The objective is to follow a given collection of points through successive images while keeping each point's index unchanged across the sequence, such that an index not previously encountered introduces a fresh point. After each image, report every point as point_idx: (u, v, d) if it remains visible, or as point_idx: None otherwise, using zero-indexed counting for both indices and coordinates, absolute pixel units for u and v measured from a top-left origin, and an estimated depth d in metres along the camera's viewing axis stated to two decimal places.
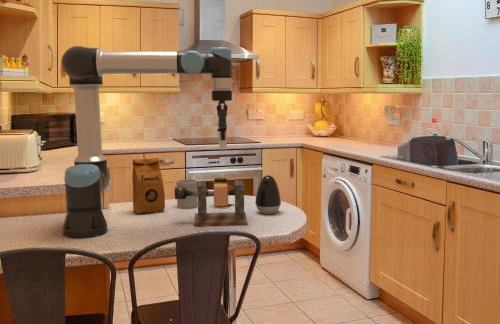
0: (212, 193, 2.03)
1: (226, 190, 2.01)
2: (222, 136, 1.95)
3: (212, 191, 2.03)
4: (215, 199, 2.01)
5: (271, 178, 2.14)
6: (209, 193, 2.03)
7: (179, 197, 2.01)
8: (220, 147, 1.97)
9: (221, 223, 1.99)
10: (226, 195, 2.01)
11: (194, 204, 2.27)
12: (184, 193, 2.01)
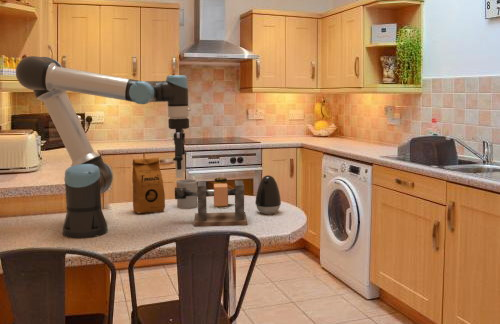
0: (212, 193, 2.03)
1: (226, 190, 2.01)
2: (178, 165, 1.93)
3: (212, 191, 2.03)
4: (215, 199, 2.01)
5: (271, 178, 2.14)
6: (209, 193, 2.03)
7: (179, 197, 2.01)
8: (177, 176, 1.95)
9: (221, 223, 1.99)
10: (226, 195, 2.01)
11: (194, 204, 2.27)
12: (184, 193, 2.01)
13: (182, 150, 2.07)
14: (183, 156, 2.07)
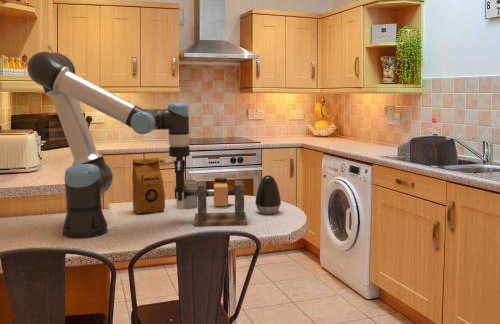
0: (212, 193, 2.03)
1: (226, 190, 2.01)
2: (179, 197, 1.99)
3: (212, 191, 2.03)
4: (215, 199, 2.01)
5: (271, 178, 2.14)
6: (209, 193, 2.03)
7: None
8: (177, 207, 2.01)
9: (221, 223, 1.99)
10: (226, 195, 2.01)
11: (194, 204, 2.27)
12: (184, 193, 2.01)
13: None
14: None
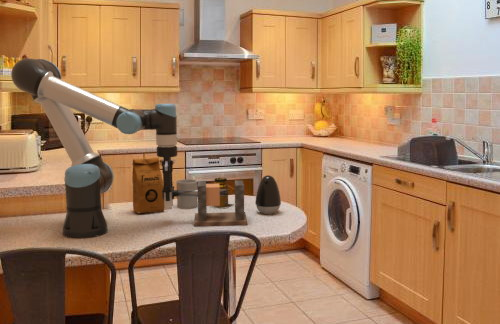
0: None
1: (218, 190, 2.00)
2: (167, 197, 1.99)
3: None
4: (207, 199, 2.01)
5: (271, 178, 2.14)
6: (197, 193, 2.02)
7: None
8: (165, 207, 2.00)
9: (221, 223, 1.99)
10: (218, 195, 2.01)
11: (194, 204, 2.27)
12: (172, 193, 2.01)
13: (170, 182, 2.05)
14: None
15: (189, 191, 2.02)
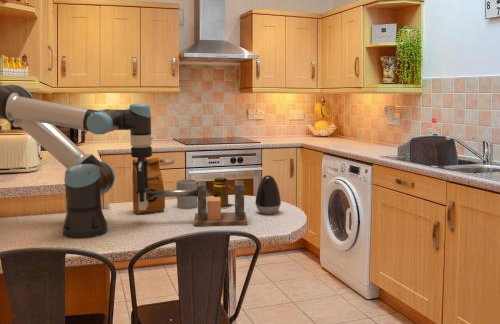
0: (175, 194, 2.02)
1: (219, 204, 2.01)
2: (141, 198, 1.98)
3: (175, 192, 2.02)
4: (208, 213, 2.01)
5: (271, 178, 2.14)
6: (172, 194, 2.02)
7: None
8: (139, 208, 2.00)
9: (221, 223, 1.99)
10: (219, 208, 2.01)
11: (194, 204, 2.27)
12: (147, 194, 2.00)
13: (145, 183, 2.04)
14: None
15: (164, 192, 2.02)
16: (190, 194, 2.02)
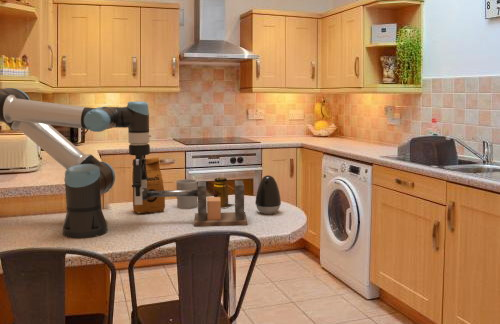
0: (173, 194, 2.02)
1: (219, 204, 2.01)
2: (137, 192, 1.93)
3: (173, 192, 2.02)
4: (208, 213, 2.01)
5: (271, 178, 2.14)
6: (170, 194, 2.02)
7: None
8: (135, 202, 1.95)
9: (221, 223, 1.99)
10: (219, 208, 2.01)
11: (194, 204, 2.27)
12: (145, 194, 2.00)
13: (143, 175, 2.07)
14: (144, 181, 2.08)
15: (162, 192, 2.02)
16: (188, 194, 2.02)
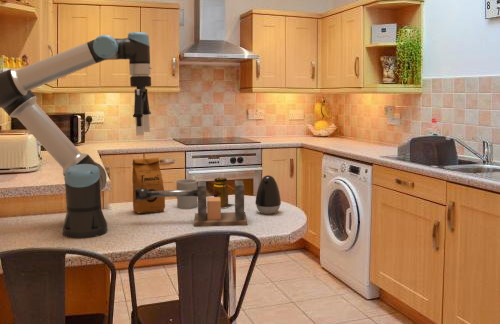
0: (173, 194, 2.02)
1: (219, 204, 2.01)
2: (138, 122, 1.93)
3: (173, 192, 2.02)
4: (208, 213, 2.01)
5: (271, 178, 2.14)
6: (170, 194, 2.02)
7: (140, 198, 2.00)
8: (137, 133, 1.95)
9: (221, 223, 1.99)
10: (219, 208, 2.01)
11: (194, 204, 2.27)
12: (145, 194, 2.00)
13: (146, 109, 2.07)
14: (147, 116, 2.08)
15: (162, 192, 2.02)
16: (188, 194, 2.02)
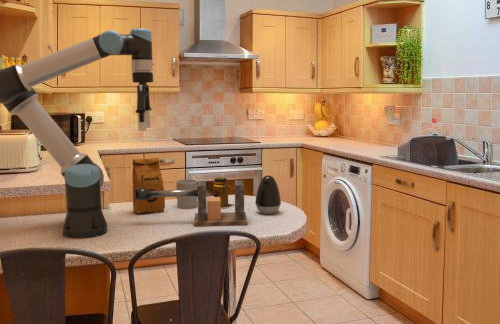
0: (173, 194, 2.02)
1: (219, 204, 2.01)
2: (140, 117, 1.95)
3: (173, 192, 2.02)
4: (208, 213, 2.01)
5: (271, 178, 2.14)
6: (170, 194, 2.02)
7: (140, 198, 2.00)
8: (139, 129, 1.96)
9: (221, 223, 1.99)
10: (219, 208, 2.01)
11: (194, 204, 2.27)
12: (145, 194, 2.00)
13: (147, 105, 2.08)
14: (148, 112, 2.09)
15: (162, 192, 2.02)
16: (188, 194, 2.02)
